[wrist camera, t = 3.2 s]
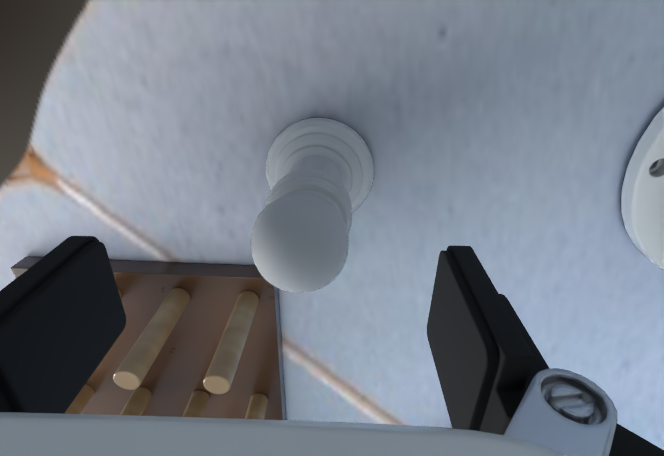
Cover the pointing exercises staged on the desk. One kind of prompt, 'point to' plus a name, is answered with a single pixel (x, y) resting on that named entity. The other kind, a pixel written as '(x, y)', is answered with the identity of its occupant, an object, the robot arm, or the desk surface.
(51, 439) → the robot arm
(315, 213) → the chess piece
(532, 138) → the desk surface
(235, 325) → the plate rack
